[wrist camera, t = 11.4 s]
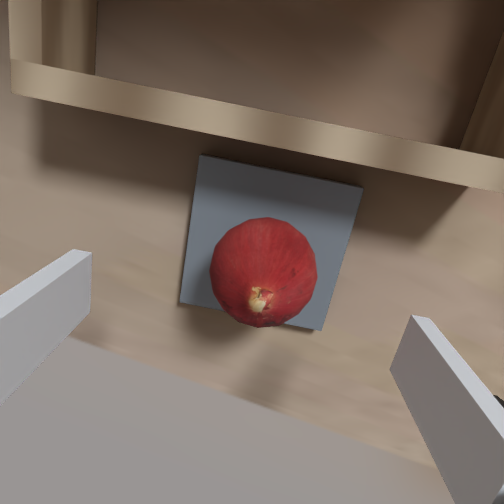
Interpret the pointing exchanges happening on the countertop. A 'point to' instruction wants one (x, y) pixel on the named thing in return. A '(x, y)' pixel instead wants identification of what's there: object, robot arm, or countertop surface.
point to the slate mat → (275, 206)
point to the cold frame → (236, 116)
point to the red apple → (263, 272)
